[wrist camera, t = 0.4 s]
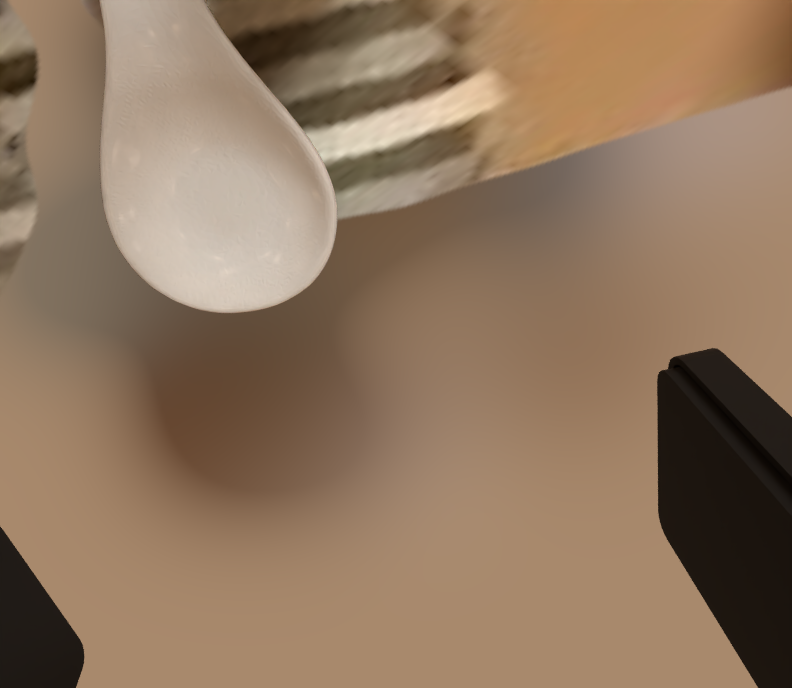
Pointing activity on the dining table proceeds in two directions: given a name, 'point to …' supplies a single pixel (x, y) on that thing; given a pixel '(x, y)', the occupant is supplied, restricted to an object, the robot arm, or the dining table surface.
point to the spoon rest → (205, 165)
